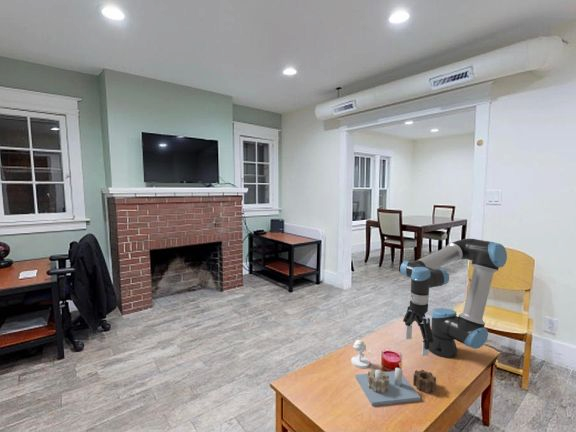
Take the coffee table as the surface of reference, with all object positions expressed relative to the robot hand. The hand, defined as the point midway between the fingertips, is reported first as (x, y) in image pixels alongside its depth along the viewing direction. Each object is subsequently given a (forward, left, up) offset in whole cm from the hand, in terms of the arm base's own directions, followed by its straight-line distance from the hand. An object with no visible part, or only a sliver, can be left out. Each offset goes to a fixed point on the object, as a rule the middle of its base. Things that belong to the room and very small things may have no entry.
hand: (416, 346), depth 134 cm
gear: (+18, +1, -17) cm, 25 cm away
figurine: (+18, -19, -18) cm, 32 cm away
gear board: (+14, +1, -18) cm, 23 cm away
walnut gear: (-4, +2, -18) cm, 19 cm away
